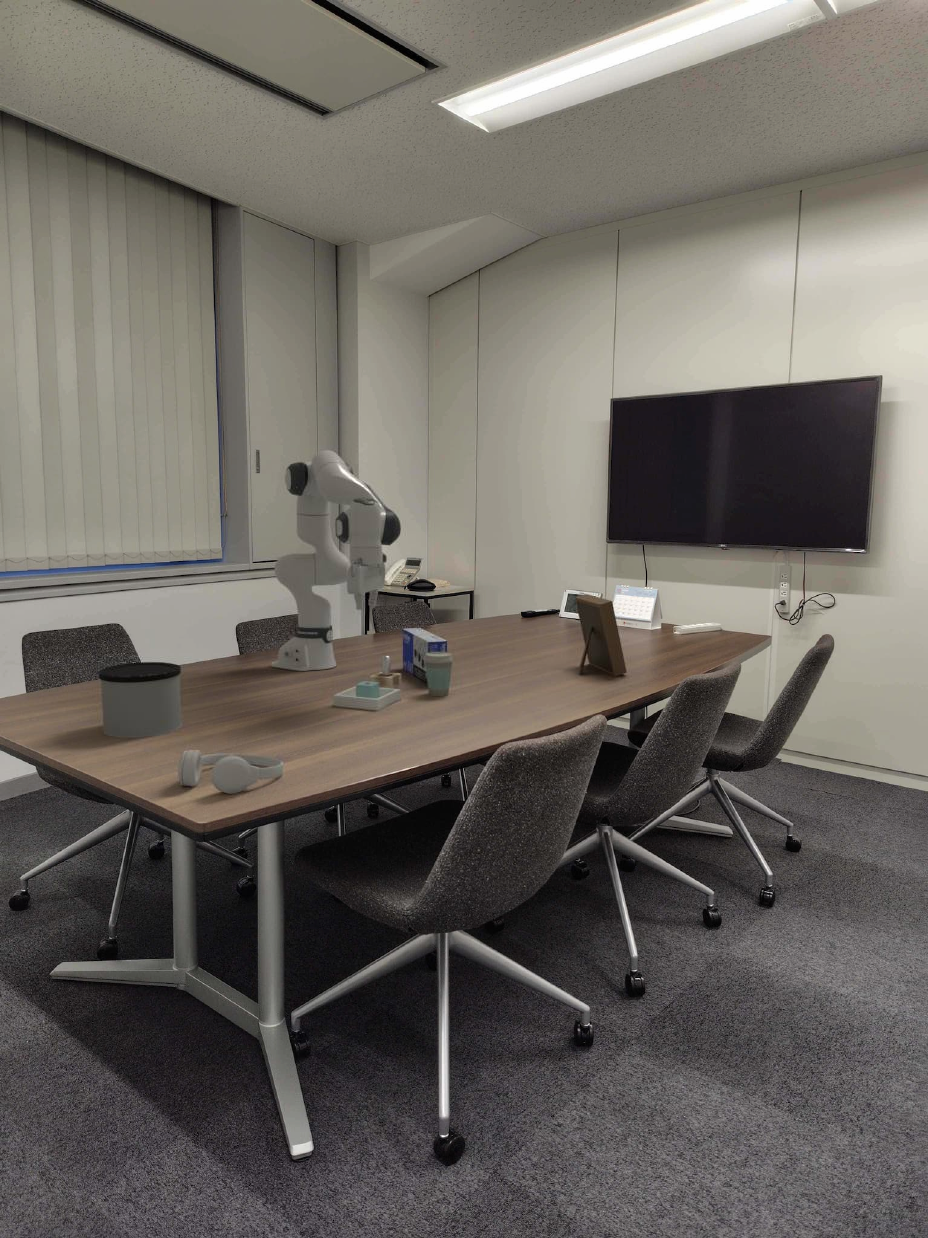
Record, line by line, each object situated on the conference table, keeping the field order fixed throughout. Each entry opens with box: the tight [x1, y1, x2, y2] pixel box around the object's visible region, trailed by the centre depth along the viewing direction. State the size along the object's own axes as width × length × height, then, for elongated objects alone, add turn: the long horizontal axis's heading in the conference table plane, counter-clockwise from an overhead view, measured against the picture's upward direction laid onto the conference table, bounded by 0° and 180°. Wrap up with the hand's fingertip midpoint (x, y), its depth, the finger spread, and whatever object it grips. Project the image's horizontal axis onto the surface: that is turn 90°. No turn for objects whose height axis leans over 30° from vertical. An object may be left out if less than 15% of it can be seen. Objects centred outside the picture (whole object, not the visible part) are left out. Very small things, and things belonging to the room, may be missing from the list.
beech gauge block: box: [369, 671, 402, 690], centre depth 249 cm, size 7×7×5 cm
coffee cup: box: [424, 651, 454, 697], centre depth 245 cm, size 8×9×12 cm
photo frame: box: [574, 593, 627, 677], centre depth 280 cm, size 15×22×25 cm
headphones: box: [177, 749, 284, 795], centre depth 169 cm, size 7×18×20 cm
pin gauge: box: [381, 655, 391, 677], centre depth 249 cm, size 2×2×10 cm
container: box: [98, 661, 183, 739], centre depth 207 cm, size 19×19×15 cm
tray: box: [332, 685, 402, 711], centre depth 234 cm, size 14×14×3 cm
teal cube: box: [355, 680, 379, 699], centre depth 234 cm, size 5×5×5 cm
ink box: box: [402, 627, 448, 686], centre depth 270 cm, size 30×7×14 cm, turn 19°
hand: (366, 607), depth 231 cm, fingers open, 8 cm apart
